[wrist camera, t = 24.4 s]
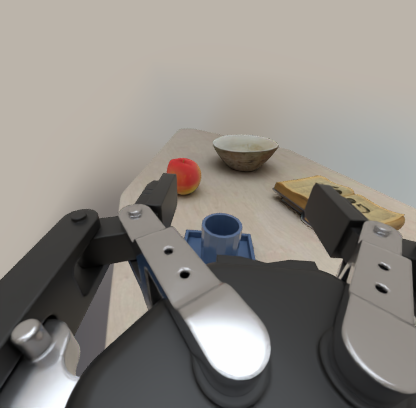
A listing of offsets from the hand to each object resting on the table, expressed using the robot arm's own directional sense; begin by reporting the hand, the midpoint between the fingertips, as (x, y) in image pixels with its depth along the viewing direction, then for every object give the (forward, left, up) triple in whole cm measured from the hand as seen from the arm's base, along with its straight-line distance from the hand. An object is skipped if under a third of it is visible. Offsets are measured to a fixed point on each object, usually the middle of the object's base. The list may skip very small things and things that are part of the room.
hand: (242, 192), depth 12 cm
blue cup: (0, +15, -23) cm, 27 cm away
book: (+28, +35, -23) cm, 50 cm away
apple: (-10, +42, -23) cm, 49 cm away
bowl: (+9, +66, -23) cm, 70 cm away
